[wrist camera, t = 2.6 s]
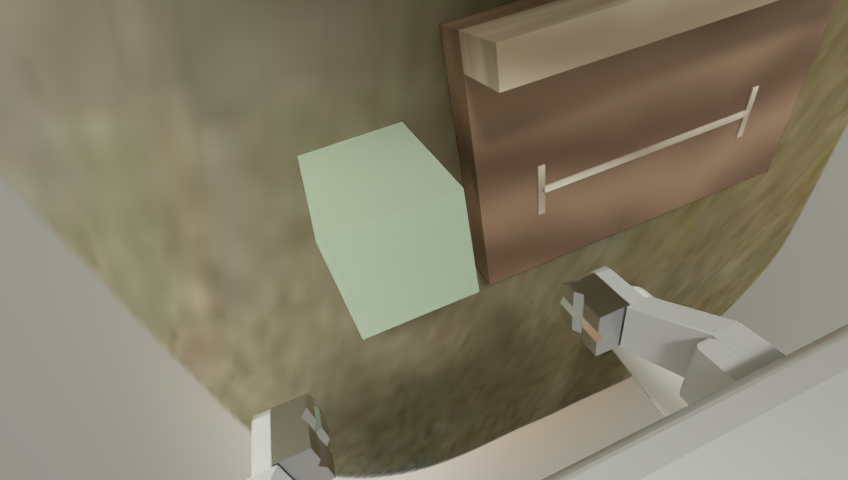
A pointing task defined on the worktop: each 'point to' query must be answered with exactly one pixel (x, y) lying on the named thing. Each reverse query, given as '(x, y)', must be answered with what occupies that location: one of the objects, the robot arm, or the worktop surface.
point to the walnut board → (615, 112)
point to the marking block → (389, 227)
